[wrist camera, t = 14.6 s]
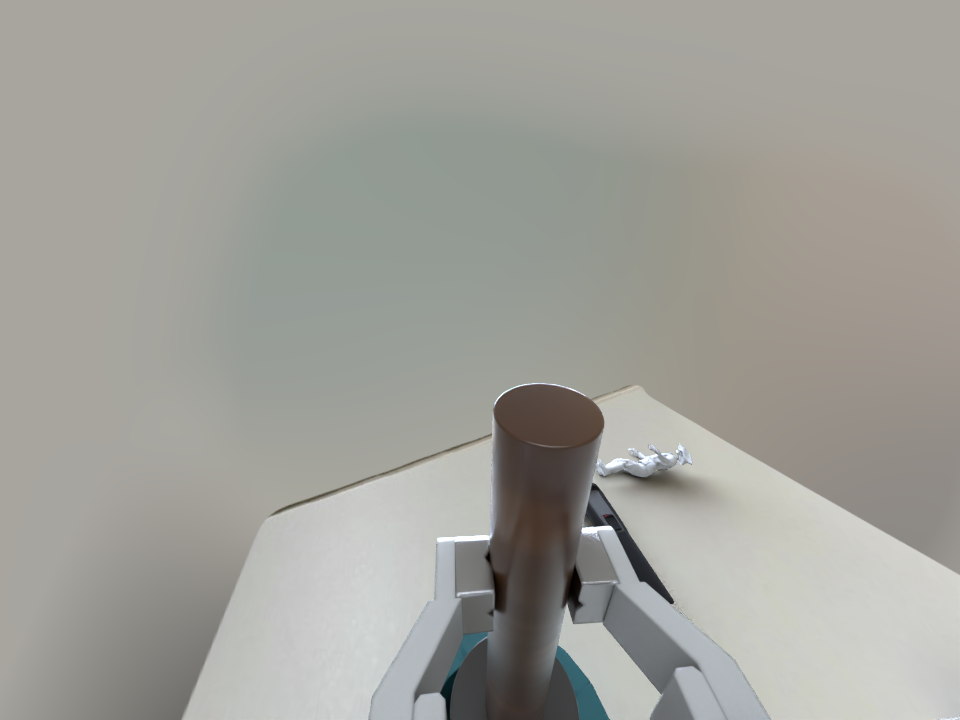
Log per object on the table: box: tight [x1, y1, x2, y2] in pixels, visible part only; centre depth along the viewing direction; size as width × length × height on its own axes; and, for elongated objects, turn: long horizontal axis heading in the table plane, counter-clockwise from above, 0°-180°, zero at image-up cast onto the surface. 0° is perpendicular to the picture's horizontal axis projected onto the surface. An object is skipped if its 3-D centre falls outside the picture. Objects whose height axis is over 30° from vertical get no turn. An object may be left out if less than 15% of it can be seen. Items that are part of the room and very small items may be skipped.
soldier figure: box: [596, 444, 692, 477], centre depth 46 cm, size 8×5×12 cm
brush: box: [450, 383, 604, 720], centre depth 11 cm, size 5×5×20 cm
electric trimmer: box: [586, 483, 674, 604], centre depth 37 cm, size 4×16×3 cm, turn 14°
